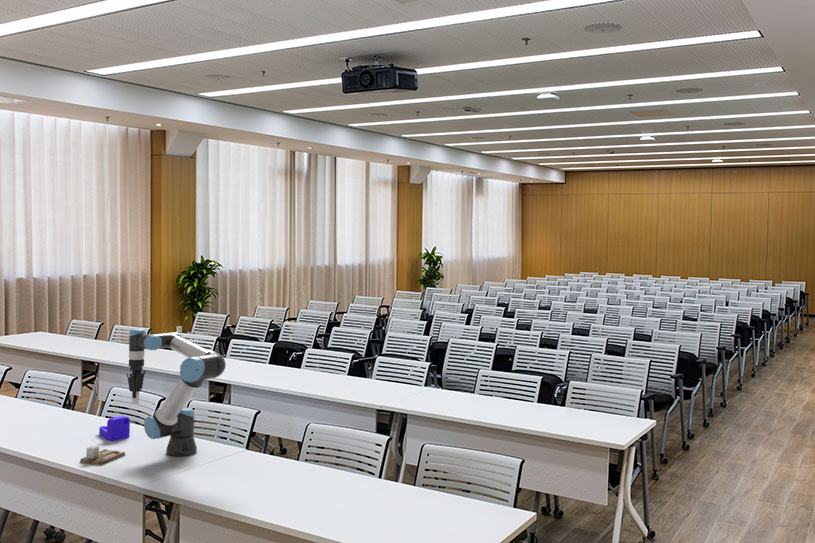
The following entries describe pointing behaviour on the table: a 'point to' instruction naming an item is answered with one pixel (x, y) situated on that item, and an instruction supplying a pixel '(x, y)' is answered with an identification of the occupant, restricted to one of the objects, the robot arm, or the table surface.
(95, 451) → the slider with brass pointer
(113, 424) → the bracket
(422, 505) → the table surface
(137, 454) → the table surface
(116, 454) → the wooden knob panel
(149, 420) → the robot arm
